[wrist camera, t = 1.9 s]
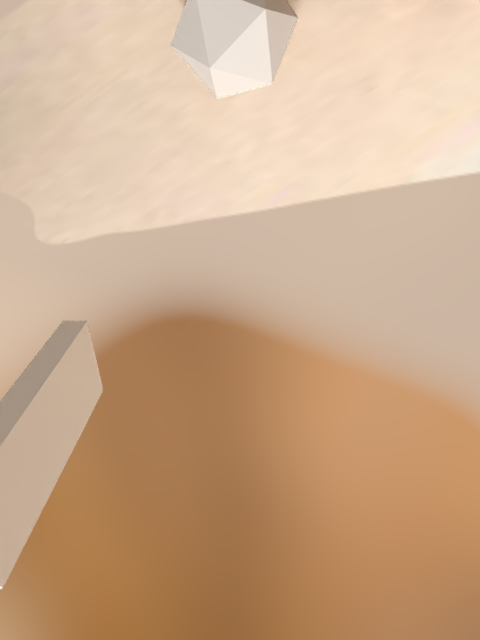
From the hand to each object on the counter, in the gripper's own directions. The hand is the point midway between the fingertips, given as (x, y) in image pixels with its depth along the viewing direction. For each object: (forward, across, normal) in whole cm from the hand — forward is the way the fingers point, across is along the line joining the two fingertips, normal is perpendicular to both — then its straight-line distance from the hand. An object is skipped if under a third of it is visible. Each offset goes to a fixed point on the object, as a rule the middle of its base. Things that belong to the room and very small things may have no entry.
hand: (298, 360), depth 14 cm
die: (+32, -4, +9) cm, 34 cm away
